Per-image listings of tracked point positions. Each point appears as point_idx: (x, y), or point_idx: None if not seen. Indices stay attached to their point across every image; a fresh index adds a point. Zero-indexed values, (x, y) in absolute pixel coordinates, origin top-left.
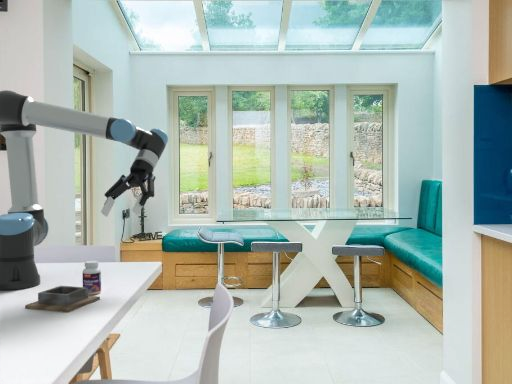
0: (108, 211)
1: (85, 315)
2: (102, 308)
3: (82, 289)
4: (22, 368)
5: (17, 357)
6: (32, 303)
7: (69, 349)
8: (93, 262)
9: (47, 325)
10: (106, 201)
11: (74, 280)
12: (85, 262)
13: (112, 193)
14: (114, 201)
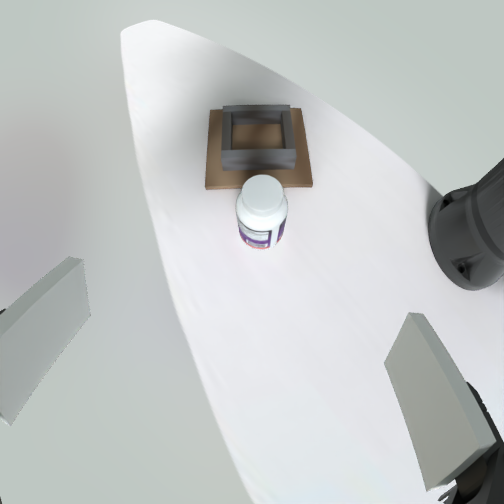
0: (400, 383)
1: (173, 112)
2: (166, 145)
3: (222, 143)
4: (151, 26)
5: (169, 31)
6: (298, 117)
7: (133, 51)
8: (249, 185)
9: (199, 73)
10: (468, 390)
11: None
12: (272, 177)
13: (494, 489)
14: (428, 481)
